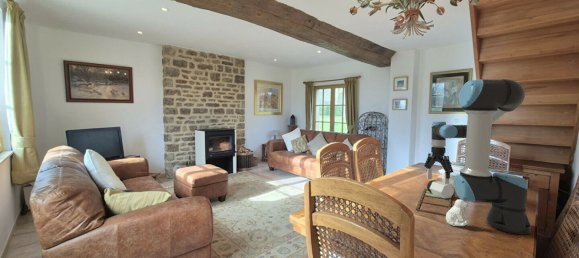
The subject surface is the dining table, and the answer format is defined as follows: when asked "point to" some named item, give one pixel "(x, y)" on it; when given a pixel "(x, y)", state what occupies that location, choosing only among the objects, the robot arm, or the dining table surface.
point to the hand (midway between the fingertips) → (437, 181)
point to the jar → (440, 189)
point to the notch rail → (433, 203)
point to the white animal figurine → (457, 214)
